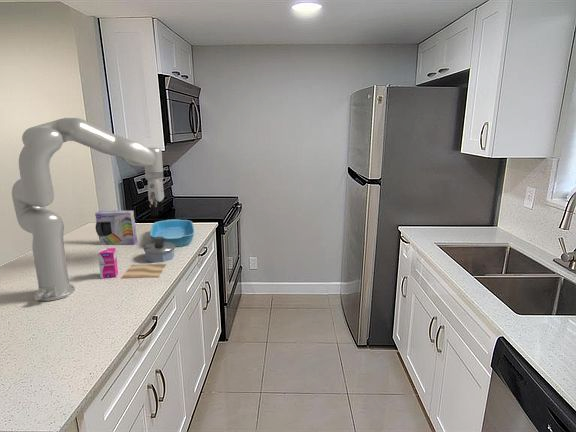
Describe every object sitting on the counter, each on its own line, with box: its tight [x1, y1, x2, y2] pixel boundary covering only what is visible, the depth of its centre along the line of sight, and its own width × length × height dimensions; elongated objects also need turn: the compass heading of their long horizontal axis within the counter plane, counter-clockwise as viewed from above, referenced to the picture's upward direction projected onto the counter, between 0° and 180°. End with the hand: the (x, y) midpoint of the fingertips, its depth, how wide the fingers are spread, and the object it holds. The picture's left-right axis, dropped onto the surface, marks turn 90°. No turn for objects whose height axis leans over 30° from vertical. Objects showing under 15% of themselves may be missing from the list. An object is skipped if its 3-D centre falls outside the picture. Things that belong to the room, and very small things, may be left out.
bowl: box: [144, 249, 175, 263], centre depth 172 cm, size 12×12×5 cm
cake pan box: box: [94, 209, 138, 246], centre depth 191 cm, size 19×5×18 cm, turn 92°
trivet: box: [120, 263, 167, 280], centre depth 157 cm, size 15×15×1 cm
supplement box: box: [97, 247, 119, 280], centre depth 150 cm, size 6×6×12 cm
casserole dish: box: [149, 218, 195, 248], centre depth 201 cm, size 37×22×7 cm, turn 17°
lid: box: [143, 237, 176, 253], centre depth 171 cm, size 14×14×5 cm
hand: (156, 213), depth 167 cm, fingers open, 9 cm apart
